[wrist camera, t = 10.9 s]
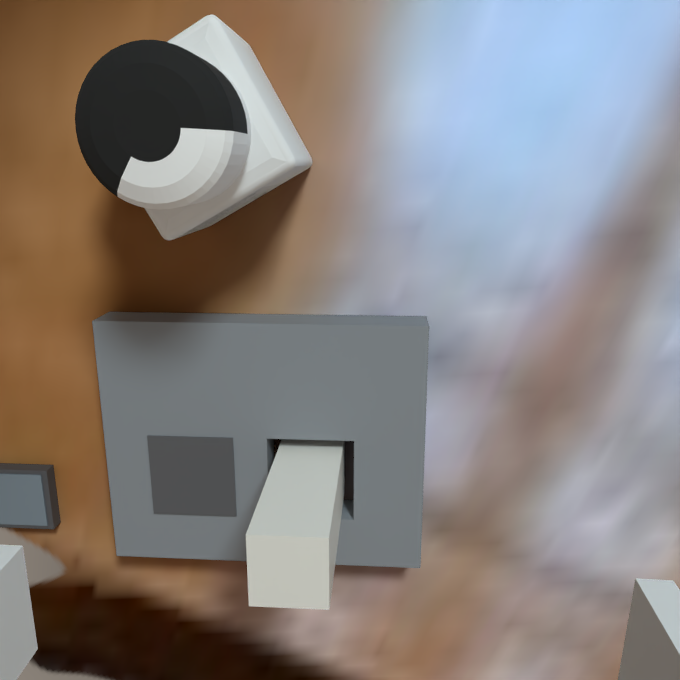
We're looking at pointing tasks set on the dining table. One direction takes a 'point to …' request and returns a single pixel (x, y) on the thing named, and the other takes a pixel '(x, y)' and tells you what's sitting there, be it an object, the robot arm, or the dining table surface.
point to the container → (186, 127)
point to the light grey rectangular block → (297, 526)
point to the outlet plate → (259, 425)
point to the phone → (28, 496)
